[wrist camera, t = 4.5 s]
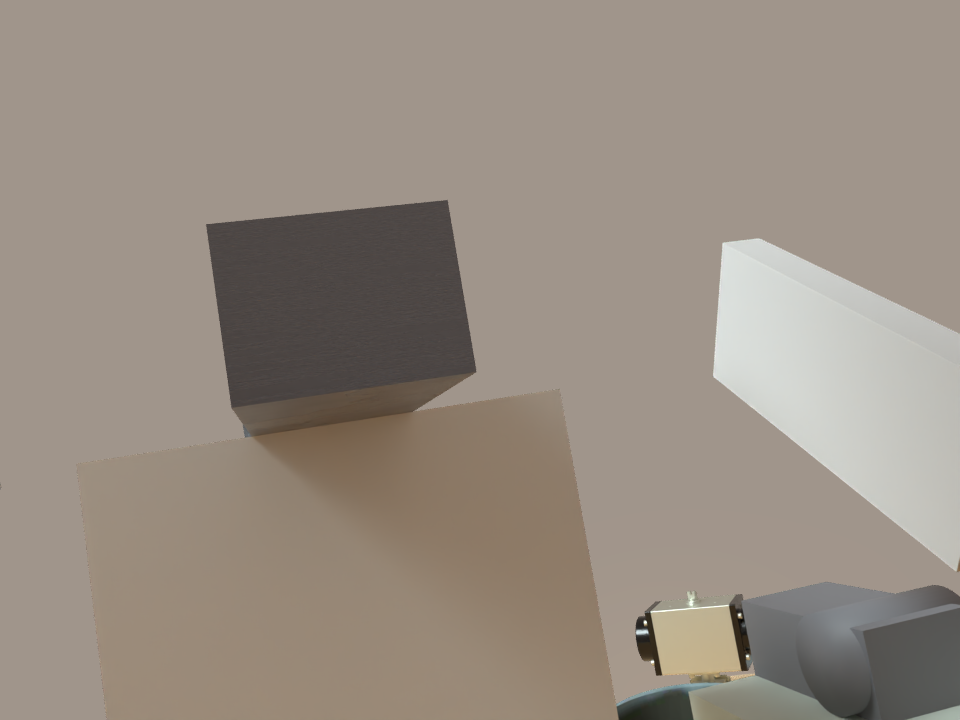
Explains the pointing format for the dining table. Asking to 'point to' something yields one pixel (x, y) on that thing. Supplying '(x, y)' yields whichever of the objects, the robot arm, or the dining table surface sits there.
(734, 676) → the dining table surface
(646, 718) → the blue-grey cup
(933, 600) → the grey-green rectangular block
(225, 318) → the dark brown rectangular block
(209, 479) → the taupe rectangular block
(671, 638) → the pneumatic valve
